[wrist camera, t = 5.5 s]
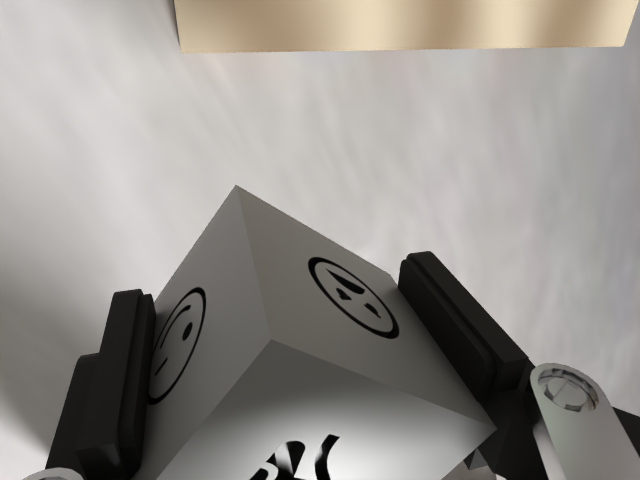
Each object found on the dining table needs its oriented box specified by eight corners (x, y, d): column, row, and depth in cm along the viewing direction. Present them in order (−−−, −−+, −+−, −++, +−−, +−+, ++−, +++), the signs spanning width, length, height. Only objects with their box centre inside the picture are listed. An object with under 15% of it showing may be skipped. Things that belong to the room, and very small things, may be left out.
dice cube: (235, 184, 9) (271, 338, 5) (389, 274, 12) (497, 428, 8) (126, 341, 11) (86, 564, 7) (285, 393, 13) (329, 581, 9)
